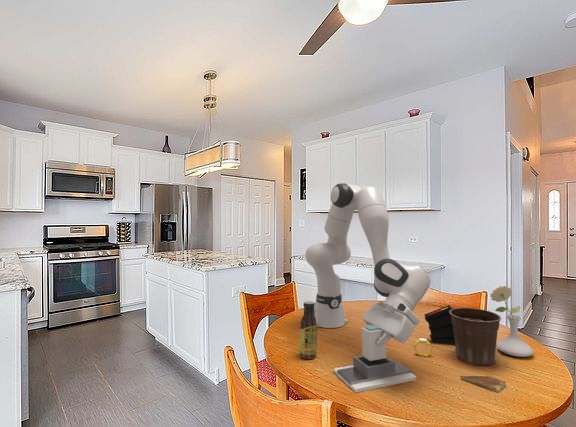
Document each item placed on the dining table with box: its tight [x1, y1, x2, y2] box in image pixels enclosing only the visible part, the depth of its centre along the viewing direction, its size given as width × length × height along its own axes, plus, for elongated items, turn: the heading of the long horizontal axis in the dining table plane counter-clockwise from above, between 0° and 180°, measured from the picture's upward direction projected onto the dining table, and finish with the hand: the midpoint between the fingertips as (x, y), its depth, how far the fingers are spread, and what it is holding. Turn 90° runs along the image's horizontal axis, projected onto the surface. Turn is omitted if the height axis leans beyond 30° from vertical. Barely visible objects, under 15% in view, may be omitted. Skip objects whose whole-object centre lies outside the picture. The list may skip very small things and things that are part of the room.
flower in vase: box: [490, 285, 534, 358], centre depth 123 cm, size 13×11×25 cm
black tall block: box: [424, 304, 455, 346], centre depth 133 cm, size 4×13×15 cm, turn 74°
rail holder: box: [332, 355, 418, 394], centre depth 106 cm, size 14×22×5 cm, turn 109°
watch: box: [414, 337, 433, 357], centre depth 121 cm, size 6×3×6 cm, turn 73°
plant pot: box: [449, 307, 502, 367], centre depth 118 cm, size 16×16×16 cm
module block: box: [361, 325, 387, 361], centre depth 106 cm, size 4×6×10 cm
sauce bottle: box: [299, 300, 318, 360], centre depth 121 cm, size 6×6×20 cm
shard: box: [459, 375, 507, 393], centre depth 101 cm, size 11×8×2 cm
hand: (372, 341), depth 106 cm, fingers closed on module block, 4 cm apart
